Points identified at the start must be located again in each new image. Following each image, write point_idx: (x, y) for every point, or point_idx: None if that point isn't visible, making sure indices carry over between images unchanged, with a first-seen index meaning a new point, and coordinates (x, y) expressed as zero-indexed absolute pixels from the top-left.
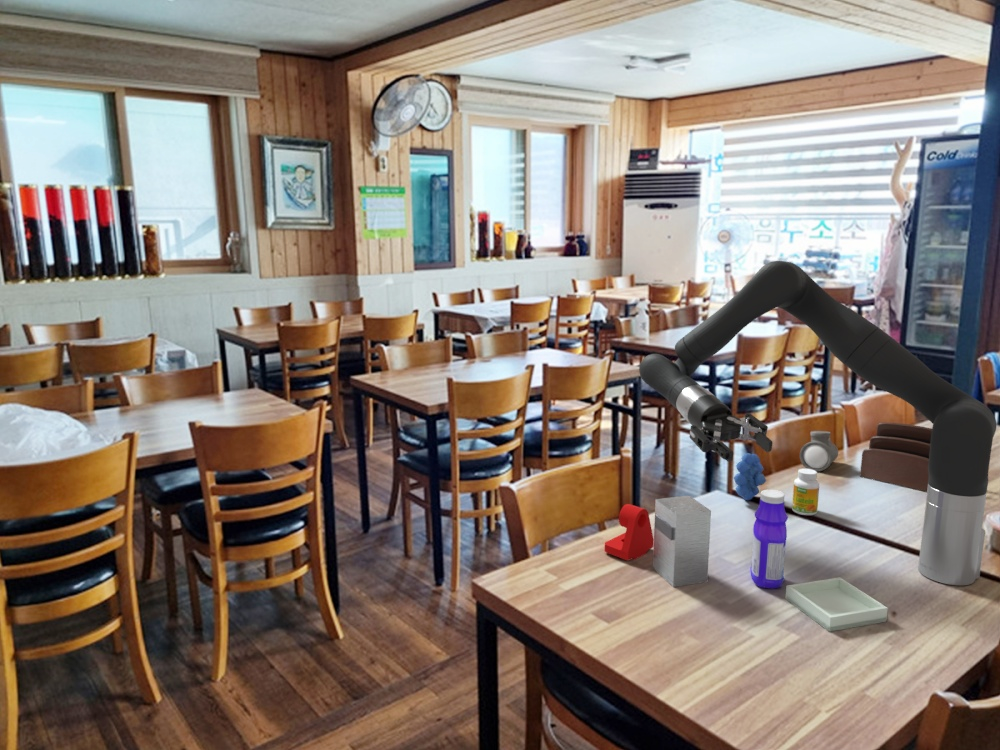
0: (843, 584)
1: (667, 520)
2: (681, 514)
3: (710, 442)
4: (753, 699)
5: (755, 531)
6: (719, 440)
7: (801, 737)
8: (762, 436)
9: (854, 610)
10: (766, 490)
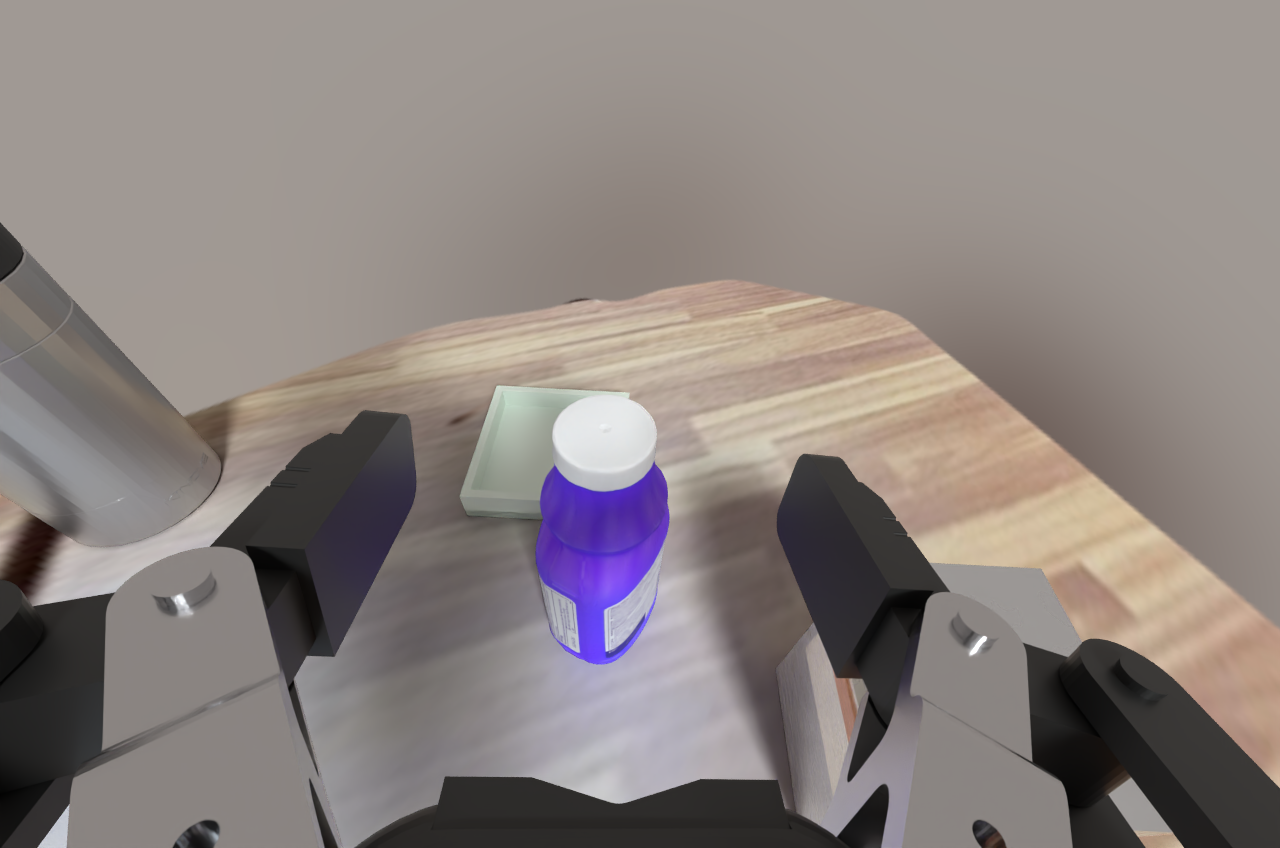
0: (475, 482)
1: None
2: (1014, 568)
3: (1040, 675)
4: (843, 344)
5: (664, 532)
6: (927, 609)
7: (813, 298)
8: (330, 486)
9: (534, 430)
10: (609, 458)
